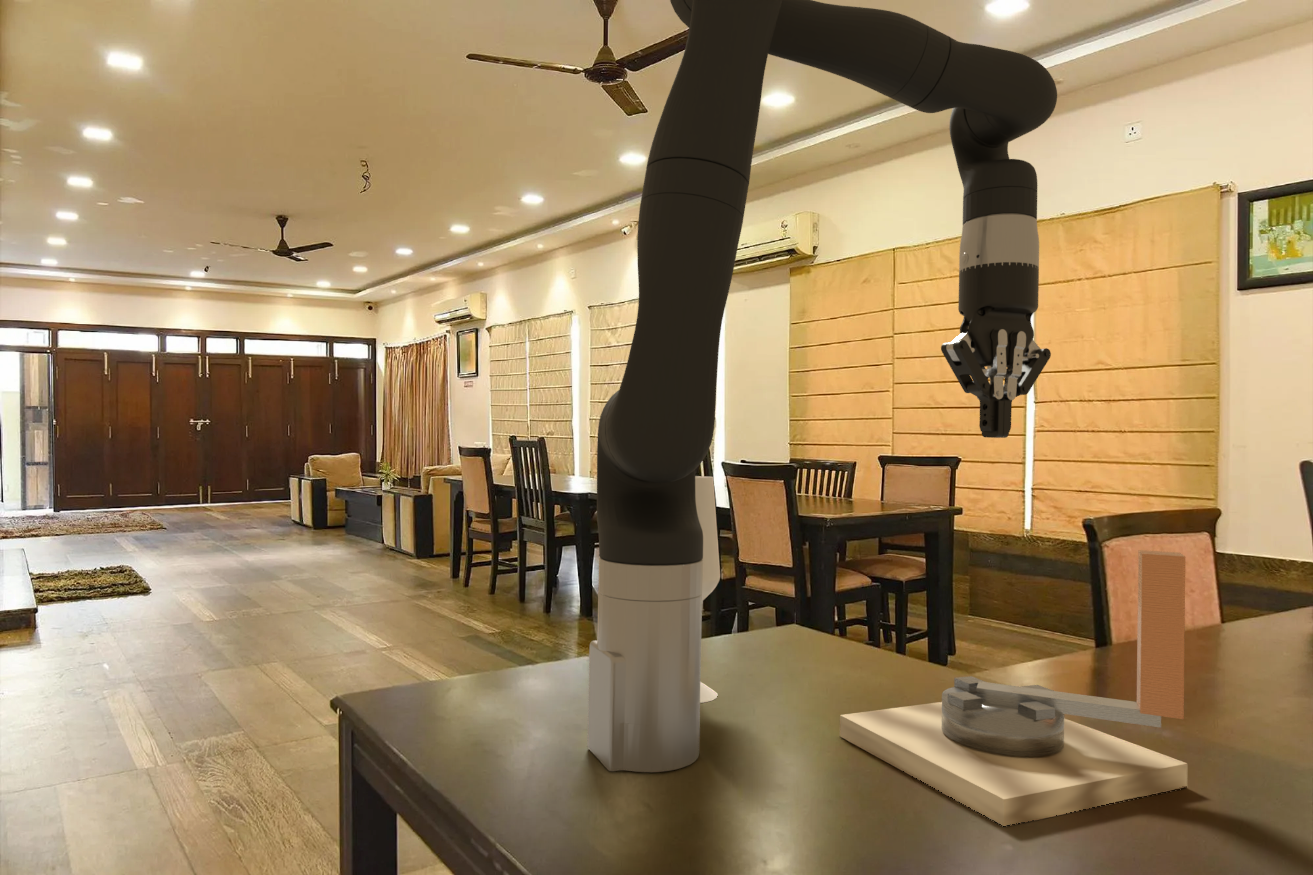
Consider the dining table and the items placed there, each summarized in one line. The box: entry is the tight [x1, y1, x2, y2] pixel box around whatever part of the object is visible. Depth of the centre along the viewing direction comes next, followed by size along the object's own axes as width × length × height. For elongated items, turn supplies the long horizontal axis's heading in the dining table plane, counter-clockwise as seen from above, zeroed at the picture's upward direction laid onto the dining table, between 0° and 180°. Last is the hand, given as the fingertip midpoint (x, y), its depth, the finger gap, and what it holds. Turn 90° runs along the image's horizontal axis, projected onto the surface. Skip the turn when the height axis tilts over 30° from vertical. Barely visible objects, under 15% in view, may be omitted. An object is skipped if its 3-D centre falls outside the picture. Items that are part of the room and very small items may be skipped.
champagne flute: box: [695, 475, 721, 704], centre depth 91 cm, size 7×7×24 cm
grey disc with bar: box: [941, 549, 1186, 756], centre depth 71 cm, size 18×10×17 cm, turn 64°
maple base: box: [839, 701, 1189, 827], centre depth 73 cm, size 20×20×2 cm
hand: (995, 437), depth 83 cm, fingers closed
